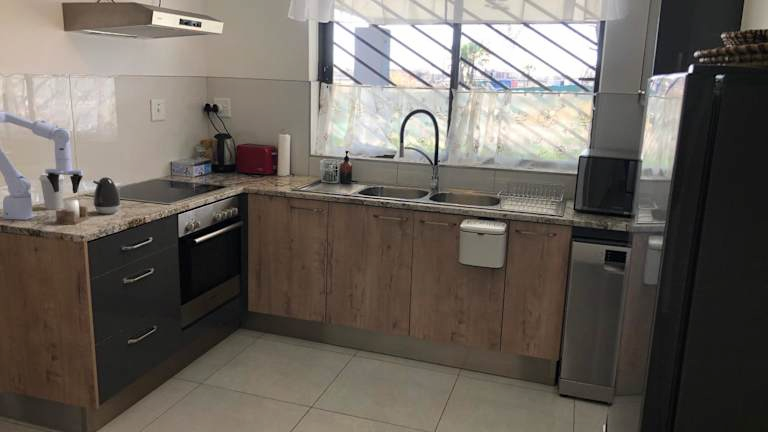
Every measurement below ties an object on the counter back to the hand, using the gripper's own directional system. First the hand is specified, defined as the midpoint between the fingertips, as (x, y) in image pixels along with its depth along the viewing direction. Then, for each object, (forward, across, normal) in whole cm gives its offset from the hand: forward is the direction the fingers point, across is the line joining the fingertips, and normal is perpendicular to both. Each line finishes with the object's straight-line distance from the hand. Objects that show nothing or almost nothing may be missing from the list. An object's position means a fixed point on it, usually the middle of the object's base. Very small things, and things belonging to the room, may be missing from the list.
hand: (66, 192), depth 243 cm
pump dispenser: (+10, +12, +9) cm, 18 cm away
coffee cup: (+10, -13, +13) cm, 21 cm away
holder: (+10, +6, -8) cm, 14 cm away
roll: (+9, +6, -7) cm, 13 cm away
